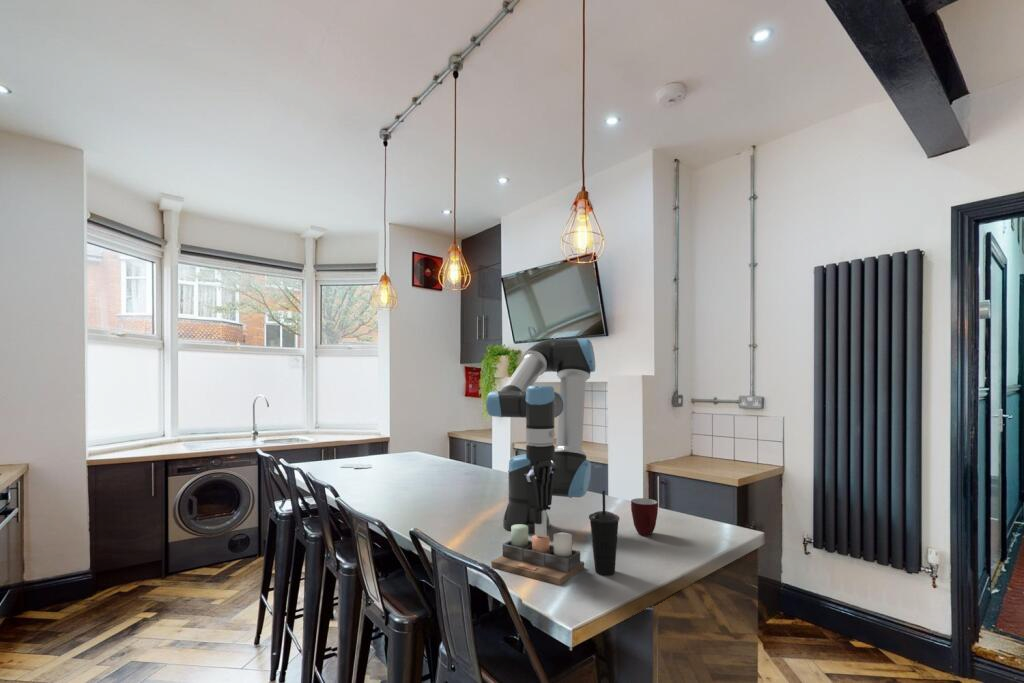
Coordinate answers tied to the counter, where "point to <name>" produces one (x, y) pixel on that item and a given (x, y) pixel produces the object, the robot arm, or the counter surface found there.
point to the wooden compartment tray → (538, 563)
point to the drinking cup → (604, 540)
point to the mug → (644, 515)
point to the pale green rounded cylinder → (519, 535)
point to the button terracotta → (540, 543)
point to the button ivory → (563, 545)
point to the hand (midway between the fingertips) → (540, 535)
